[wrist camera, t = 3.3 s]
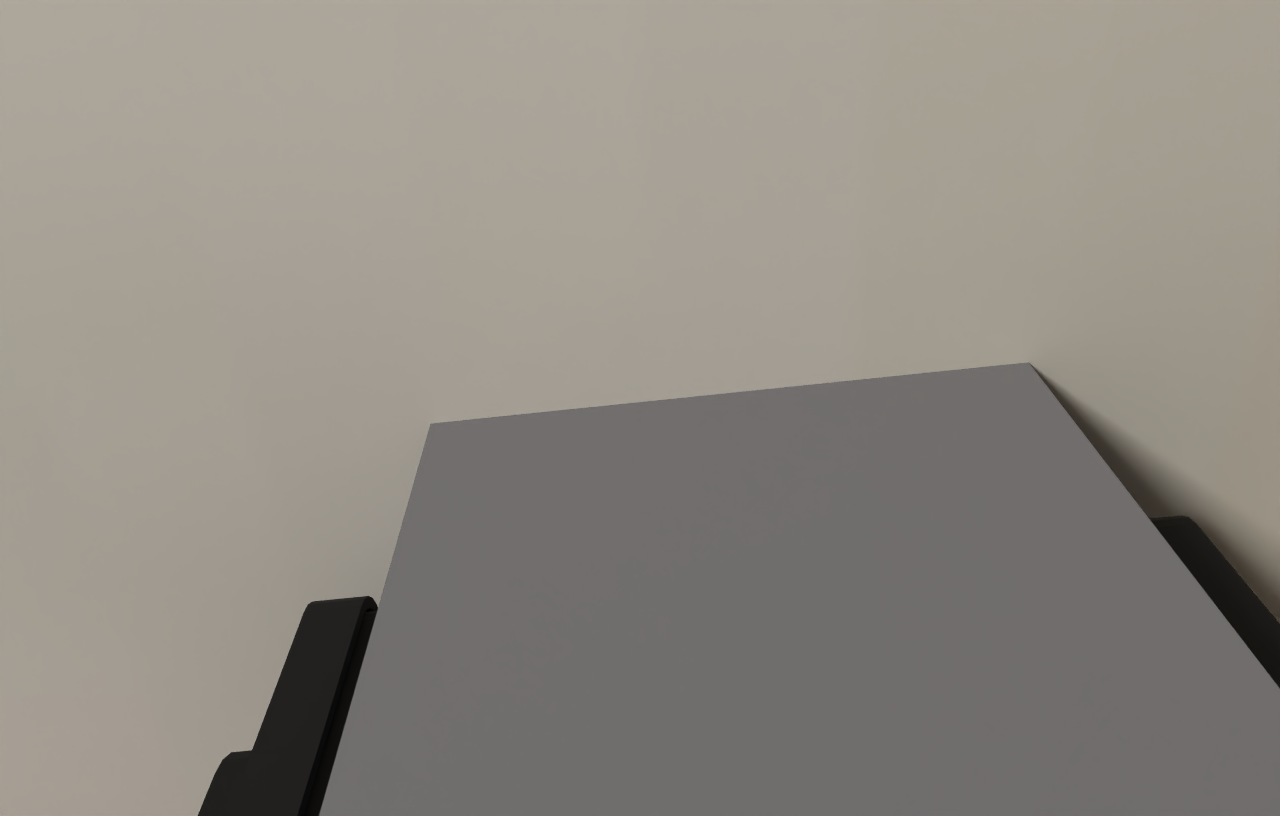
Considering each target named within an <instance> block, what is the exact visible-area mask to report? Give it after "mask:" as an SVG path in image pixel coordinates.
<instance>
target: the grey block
mask: <svg viewBox="0 0 1280 816" xmlns="http://www.w3.org/2000/svg"><path fill="white" fill-rule="evenodd" d="M319 816H1280V688H1279V687H1278V686H1277V684H1276V683H1275V682H1274V680H1273V679H1272V678H1271V677H1270V675H1269V674H1268V673H1267V671H1266V670H1265V669H1264V667H1263V666H1262V665H1261V664H1260V662H1259V661H1258V660H1257V658H1256V657H1255V656H1254V654H1253V653H1252V652H1251V651H1250V649H1249V648H1248V647H1247V645H1246V644H1245V643H1244V641H1243V640H1242V639H1241V638H1240V636H1239V635H1238V634H1237V632H1236V631H1235V630H1234V629H1233V627H1232V626H1231V625H1230V623H1229V622H1228V621H1227V619H1226V618H1225V617H1224V616H1223V614H1222V613H1221V612H1220V610H1219V609H1218V608H1217V606H1216V605H1215V604H1214V603H1213V601H1212V600H1211V599H1210V597H1209V596H1208V595H1207V593H1206V592H1205V591H1204V590H1203V588H1202V587H1201V586H1200V584H1199V583H1198V582H1197V580H1196V579H1195V578H1194V577H1193V575H1192V574H1191V573H1190V571H1189V570H1188V569H1187V567H1186V566H1185V565H1184V564H1183V562H1182V561H1181V560H1180V558H1179V557H1178V556H1177V554H1176V553H1175V552H1174V551H1173V549H1172V548H1171V547H1170V545H1169V544H1168V543H1167V541H1166V540H1165V539H1164V538H1163V536H1162V535H1161V534H1160V532H1159V531H1158V530H1157V528H1156V527H1155V526H1154V525H1153V523H1152V522H1151V521H1150V519H1149V518H1148V517H1147V515H1146V514H1145V513H1144V512H1143V510H1142V509H1141V508H1140V506H1139V505H1138V504H1137V502H1136V501H1135V500H1134V499H1133V497H1132V496H1131V495H1130V493H1129V492H1128V491H1127V489H1126V488H1125V487H1124V486H1123V484H1122V483H1121V482H1120V480H1119V479H1118V478H1117V476H1116V475H1115V474H1114V473H1113V471H1112V470H1111V469H1110V467H1109V466H1108V465H1107V463H1106V462H1105V461H1104V460H1103V458H1102V457H1101V456H1100V454H1099V453H1098V452H1097V450H1096V449H1095V448H1094V447H1093V445H1092V444H1091V443H1090V441H1089V440H1088V439H1087V437H1086V436H1085V435H1084V434H1083V432H1082V431H1081V430H1080V428H1079V427H1078V426H1077V424H1076V423H1075V422H1074V421H1073V419H1072V418H1071V417H1070V415H1069V414H1068V413H1067V411H1066V410H1065V409H1064V408H1063V406H1062V405H1061V404H1060V402H1059V401H1058V400H1057V398H1056V397H1055V396H1054V395H1053V393H1052V392H1051V391H1050V389H1049V388H1048V387H1047V385H1046V384H1045V383H1044V382H1043V380H1042V379H1041V378H1040V376H1039V375H1038V374H1037V373H1036V371H1035V370H1034V369H1033V367H1032V366H1031V365H1030V363H1019V364H1009V365H1000V366H990V367H980V368H970V369H961V370H951V371H941V372H931V373H922V374H912V375H902V376H892V377H882V378H873V379H863V380H853V381H843V382H834V383H824V384H814V385H804V386H795V387H785V388H775V389H765V390H755V391H746V392H736V393H726V394H716V395H707V396H697V397H687V398H677V399H668V400H658V401H648V402H638V403H629V404H619V405H609V406H599V407H589V408H580V409H570V410H560V411H550V412H541V413H531V414H521V415H511V416H502V417H492V418H482V419H472V420H463V421H453V422H443V423H433V424H430V428H429V431H428V435H427V438H426V442H425V445H424V449H423V452H422V456H421V460H420V463H419V467H418V470H417V474H416V477H415V481H414V484H413V488H412V491H411V495H410V498H409V502H408V505H407V509H406V512H405V516H404V519H403V523H402V526H401V530H400V533H399V537H398V540H397V544H396V547H395V551H394V554H393V558H392V561H391V565H390V568H389V572H388V575H387V579H386V582H385V586H384V589H383V593H382V597H381V600H380V604H379V607H378V611H377V614H376V618H375V621H374V625H373V628H372V632H371V635H370V639H369V642H368V646H367V649H366V653H365V656H364V660H363V663H362V667H361V670H360V674H359V677H358V681H357V684H356V688H355V691H354V695H353V698H352V702H351V705H350V709H349V712H348V716H347V719H346V723H345V726H344V730H343V734H342V737H341V741H340V744H339V748H338V751H337V755H336V758H335V762H334V765H333V769H332V772H331V776H330V779H329V783H328V786H327V790H326V793H325V797H324V800H323V804H322V807H321V811H320V814H319Z"/></svg>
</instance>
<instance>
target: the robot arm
mask: <svg viewBox="0 0 1280 816" xmlns="http://www.w3.org/2000/svg"><path fill="white" fill-rule="evenodd" d="M1150 521H1151V522H1152V523H1153V525H1154V526H1155V527H1156V528H1157V530H1158V531H1159V532H1160V534H1161V535H1162V536H1163V538H1164V539H1165V540H1166V541H1167V543H1168V544H1169V545H1170V547H1171V548H1172V549H1173V551H1174V552H1175V553H1176V554H1177V556H1178V557H1179V558H1180V560H1181V561H1182V562H1183V564H1184V565H1185V566H1186V567H1187V569H1188V570H1189V571H1190V573H1191V574H1192V575H1193V577H1194V578H1195V579H1196V580H1197V582H1198V583H1199V584H1200V586H1201V587H1202V588H1203V590H1204V591H1205V592H1206V593H1207V595H1208V596H1209V597H1210V599H1211V600H1212V601H1213V603H1214V604H1215V605H1216V606H1217V608H1218V609H1219V610H1220V612H1221V613H1222V614H1223V616H1224V617H1225V618H1226V619H1227V621H1228V622H1229V623H1230V625H1231V626H1232V627H1233V629H1234V630H1235V631H1236V632H1237V634H1238V635H1239V636H1240V638H1241V639H1242V640H1243V641H1244V643H1245V644H1246V645H1247V647H1248V648H1249V649H1250V651H1251V652H1252V653H1253V654H1254V656H1255V657H1256V658H1257V660H1258V661H1259V662H1260V664H1261V665H1262V666H1263V667H1264V669H1265V670H1266V671H1267V673H1268V674H1269V675H1270V677H1271V678H1272V679H1273V680H1274V682H1275V683H1276V684H1277V686H1278V687H1279V688H1280V624H1279V623H1278V622H1277V620H1276V619H1275V618H1274V617H1273V615H1272V614H1271V613H1270V612H1269V611H1268V609H1267V608H1266V607H1265V606H1264V605H1263V603H1262V602H1261V601H1260V600H1259V599H1258V597H1257V596H1256V595H1255V594H1254V593H1253V591H1252V590H1251V589H1250V588H1249V587H1248V585H1247V584H1246V583H1245V582H1244V581H1243V579H1242V578H1241V577H1240V576H1239V575H1238V573H1237V572H1236V571H1235V570H1234V569H1233V567H1232V566H1231V565H1230V564H1229V563H1228V561H1227V560H1226V559H1225V558H1224V557H1223V555H1222V554H1221V553H1220V552H1219V551H1218V549H1217V548H1216V547H1215V546H1214V545H1213V543H1212V542H1211V541H1210V540H1209V539H1208V537H1207V536H1206V535H1205V534H1204V533H1203V531H1202V530H1201V529H1200V528H1199V527H1198V525H1197V524H1196V523H1195V522H1194V521H1192V520H1191V519H1190V518H1189V517H1185V516H1173V517H1163V518H1153V519H1150ZM377 611H378V607H377V604H376V602H375V601H374V599H373V598H372V597H369V596H364V597H354V598H344V599H334V600H324V601H314V602H311V603H310V604H308V606H307V607H306V609H305V611H304V613H303V616H302V619H301V621H300V624H299V627H298V629H297V632H296V635H295V637H294V640H293V643H292V645H291V648H290V651H289V653H288V656H287V659H286V661H285V664H284V667H283V669H282V672H281V675H280V677H279V680H278V683H277V685H276V688H275V691H274V693H273V696H272V699H271V701H270V704H269V707H268V709H267V712H266V715H265V717H264V720H263V723H262V725H261V728H260V731H259V733H258V736H257V739H256V741H255V744H254V747H253V749H252V751H241V752H231V753H230V754H229V755H228V756H227V757H225V758H224V759H223V760H222V762H221V764H220V765H219V767H218V769H217V771H216V773H215V775H214V777H213V780H212V782H211V785H210V787H209V790H208V792H207V794H206V797H205V799H204V802H203V804H202V807H201V809H200V812H199V814H198V816H319V814H320V811H321V807H322V804H323V800H324V797H325V793H326V790H327V786H328V783H329V779H330V776H331V772H332V769H333V765H334V762H335V758H336V755H337V751H338V748H339V744H340V741H341V737H342V734H343V730H344V726H345V723H346V719H347V716H348V712H349V709H350V705H351V702H352V698H353V695H354V691H355V688H356V684H357V681H358V677H359V674H360V670H361V667H362V663H363V660H364V656H365V653H366V649H367V646H368V642H369V639H370V635H371V632H372V628H373V625H374V621H375V618H376V614H377Z"/></svg>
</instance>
